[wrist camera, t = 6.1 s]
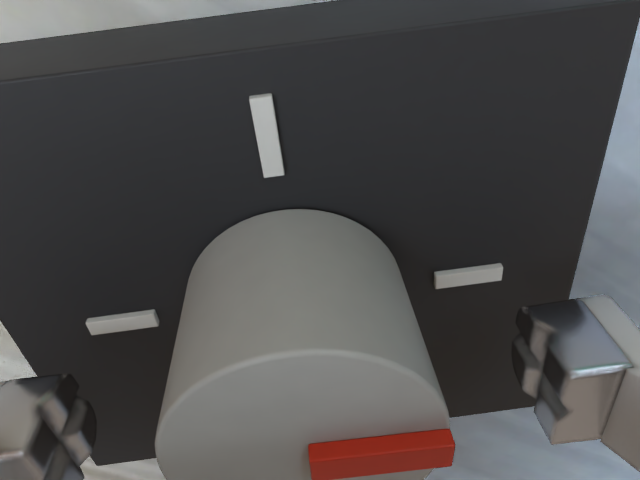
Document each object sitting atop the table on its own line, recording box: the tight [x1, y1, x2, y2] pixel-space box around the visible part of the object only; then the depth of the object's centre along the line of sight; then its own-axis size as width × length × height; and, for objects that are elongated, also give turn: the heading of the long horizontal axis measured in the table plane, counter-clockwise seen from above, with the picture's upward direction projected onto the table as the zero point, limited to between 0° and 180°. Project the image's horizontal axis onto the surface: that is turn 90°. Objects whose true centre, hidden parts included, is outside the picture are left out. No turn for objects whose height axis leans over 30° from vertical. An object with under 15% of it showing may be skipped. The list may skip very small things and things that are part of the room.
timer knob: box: [155, 209, 455, 480], centre depth 9 cm, size 4×4×4 cm
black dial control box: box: [0, 0, 640, 466], centre depth 11 cm, size 12×10×3 cm
